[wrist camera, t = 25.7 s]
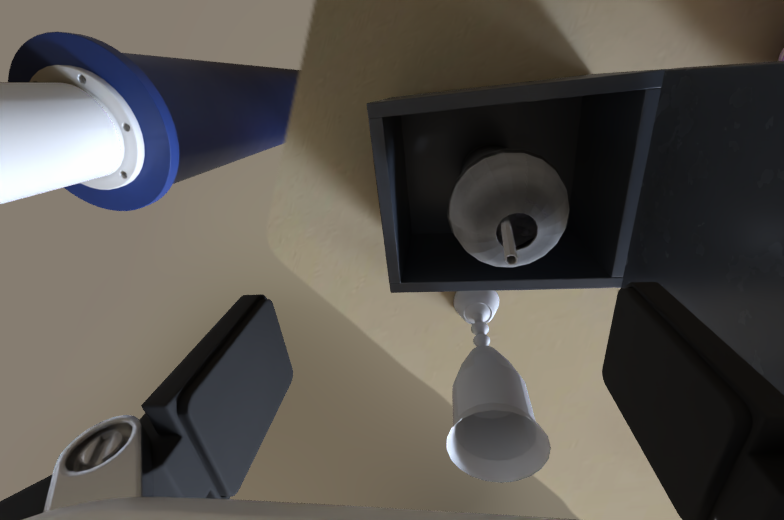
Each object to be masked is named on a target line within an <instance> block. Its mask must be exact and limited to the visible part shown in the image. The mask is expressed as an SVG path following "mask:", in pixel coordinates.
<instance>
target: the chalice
mask: <svg viewBox="0 0 784 520" xmlns="http://www.w3.org/2000/svg"><path fill="white" fill-rule="evenodd" d="M498 306H499V297H498V294H497V293H496V292H495V290H489V291H458V292H457V293H456V295H455V297H454V307H455V310H456V311H457V313H458V314H459V315H460V316H461V317H462V318H463V319H464V321H466V322H467V323H469V324H472V327H471V331H472V333H473V334H475V335H476V336H475V337H474V339H473V342H474V344H475V345H476V346H477V347H476V348H474V349H473V350H472V351H471V352H470V353H469V355H468V356H467V358H466V359H465V361H464V362H463V363H462V365H461V367H460V370H459V372H458V374H457V377H456V379H455V381H454V384H453V427H452V429H451V431H450V433H449V435H448V437H447V451H448V453H449V456H450V458H451V460H452V461H453V462H454V463H455V464H456V465H457V467H458V468H459V469H461V470H463V471H464V472H466V473H467V474H469V475H471V476H473V477H476V478H479V479H482V480H485V481H492V482H501V483H502V482H512V481H518V480H521V479H524V478H527V477H530V476H532V475H533V474H535V473H536V472H537V471H539V470H540V469H542V467H543V466H544V464H545V463H546V462H547V460H548V459H549V454H550V449H551V447H550V443H549V439H548V436H547V435H546V433H545V432H544V431H543V429H542V428H541V427H540V425H539V424H538V423H537V422H536V421H535V417H534V414H533V410H532V406H531V402H530V399H529V395H528V391H527V388H526V384H525V382H524V380H523V379H522V377H521V376H520V375H519V373H518V372H517V371H516V370H515V368H514V367H513V366H512V364H511V363H510V362H509V361H508V360H507V359H506V358H505V357H504V356H502V355H501V354H500V353H499V352H498V351H497V350H495V349H494V348H492V347H490V346H488V345H489V343H490V338H489V337H488V336H487V335H485V334H487V333H488V331H489V327H488V325H487V324H486V323H487V322H489V321H490V320H491V319H492V318H493V316H494V314H495V312H496V310H497V308H498Z"/></svg>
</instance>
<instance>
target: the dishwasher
mask: <svg viewBox="0 0 784 520" xmlns="http://www.w3.org/2000/svg"><path fill="white" fill-rule="evenodd" d="M665 70H666V69H660V70H645V71H631V72H616V73H602V74H589V75H581V76H572V77H564V78H555V79H546V80H538V81H529V82H520V83H512V84H503V85H495V86H486V87H477V88H469V89H460V90H451V91H443V92H434V93H425V94H417V95H408V96H400V97H391V98H387V99H383V100H379V101H375V102H370V103H367V110H368V118H369V126H370V134H371V142H372V150H373V158H374V166H375V174H376V181H377V189H378V197H379V205H380V213H381V221H382V229H383V237H384V245H385V253H386V260H387V268H388V276H389V283H390V291H391V293H397V292H443V291H489V290H536V289H582V288H621V285H622V280H623V275H624V270H625V265H626V260H627V255H628V250H629V245H630V240H631V235H632V230H633V225H634V220H635V216H636V211H637V206H638V201H639V196H640V191H641V186H642V181H643V176H644V171H645V166H646V161H647V156H648V151H649V146H650V141H651V136H652V131H653V126H654V121H655V116H656V111H657V106H658V101H659V96H660V91H661V86H662V81H663V76H664V72H665ZM484 144H494V145H499V146H502V147H505V148H507V149H523V150H526V151H529V152H532V153H535V154H538V155H541V156H542V157H544V158H545V159H546V160H547V161H549V162H550V163H551V164H552V165H554V166H555V167H556V168H557V170H558V172H559V174H560V176H561V177H562V179H563V181H564V183H565V188H566V190H567V195H568V202H569V209H570V210H569V215H568V219H567V224H566V228H565V231H564V232H563V234H562V236H561V237H560V239H559V241H558V243H557V244H556V245H555V246H554V247H553V248H552V249H551V250H550V251H549V252H548V253H547V254H545V255H544V256H543V257H541V258H539V259H537V260H535V261H533V262H531V263H529V264H525V265H521V266H517V267H496V266H493V265H490V264H487V263H484V262H481V261H479V260H478V259H476V258H475V257H473V256H472V255H471V254H469V253H468V252H467V251H466V250H465V249H464V248H463V246H462V245H461V244H460V242H459V241H458V239H457V238H456V237H455V235H454V234H453V232H452V230H451V227H450V224H449V220H448V217H447V210H448V198H449V195H450V192H451V190H452V187H453V185H454V182H455V181H456V179H457V178H458V177H459V174H460V170H461V167H462V164H463V162H464V160H465V157H466V156H467V155H468V154H469V152H470V151H472V150H473V149H475V148H476V147H478V146H481V145H484Z"/></svg>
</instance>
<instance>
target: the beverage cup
mask: <svg viewBox="0 0 784 520" xmlns="http://www.w3.org/2000/svg"><path fill="white" fill-rule="evenodd" d="M569 210H570V209H569V202H568V195H567V190H566V188H565V183H564V181H563V179H562V177H561V176H560V174H559V172H558V170H557V168H556V167H555V166H554V165H552V164H551V163H550V162H549V161H547V160H546V159H545V158H544V157H542V156H541V155H538V154H535V153H532V152H529V151H526V150H523V149H507V148H505V147H502V146H499V145H494V144H484V145H481V146H478V147H476V148H475V149H473V150H472V151H470V152H469V154H468V155H467V156H466V157H465V160H464V162H463V164H462V167H461V170H460V174H459V177H458V178H457V179H456V181H455V182H454V185H453V187H452V190H451V192H450V195H449V198H448V210H447V217H448V220H449V224H450V227H451V230H452V232H453V234H454V235H455V237H456V238H457V239H458V241H459V242H460V244H461V245H462V246H463V248H464V249H465V250H466V251H467V252H468V253H469V254H471V255H472V256H473V257H475V258H476V259H478V260H479V261H481V262H484V263H487V264H490V265H493V266H496V267H517V266H521V265H525V264H529V263H531V262H533V261H535V260H537V259H539V258H541V257H543V256H544V255H545V254H547V253H548V252H549V251H550V250H551V249H552V248H553V247H554V246H555V245H556V244H557V243H558V241H559V239H560V237H561V236H562V234H563V232H564V231H565V228H566V224H567V219H568V215H569Z"/></svg>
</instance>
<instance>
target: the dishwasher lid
mask: <svg viewBox="0 0 784 520" xmlns="http://www.w3.org/2000/svg"><path fill="white" fill-rule="evenodd" d="M630 282H657V283H659V284H660V285H661V286H663V287H664V288H665V289H666V290H667V291H668V292H669V293H670V294H671V295H673V296H674V297H675V298H676V299H677V300H678V301H679V302H680V303H682V304H683V305H684V306H685V307H686V308H687V309H688V310H689V311H690V312H692V313H693V314H694V315H695V316H696V317H697V318H698V319H699V320H701V321H702V322H703V323H704V324H705V325H706V326H707V327H708V328H709V329H711V330H712V331H713V332H714V333H715V334H716V335H717V336H718V337H719V338H721V339H722V340H723V341H724V342H725V343H726V344H727V345H728V346H730V347H731V348H732V349H733V350H734V351H735V352H736V353H737V354H738V355H740V356H741V357H742V358H743V359H744V360H745V361H746V362H747V363H749V364H750V365H751V366H752V367H753V368H754V369H755V370H756V371H757V372H759V373H760V374H761V375H762V376H763V377H764V378H765V379H766V380H767V381H769V382H770V383H771V384H772V385H773V386H774V387H775V388H776V389H778V390H779V391H780V392H781V393H782V394H783V395H784V61H773V62H758V63H743V64H728V65H714V66H699V67H684V68H674V69H666V70H665V72H664V76H663V81H662V86H661V91H660V96H659V101H658V106H657V111H656V116H655V121H654V126H653V131H652V136H651V141H650V146H649V151H648V156H647V161H646V166H645V171H644V176H643V181H642V186H641V191H640V196H639V201H638V206H637V211H636V216H635V220H634V225H633V230H632V235H631V240H630V245H629V250H628V255H627V260H626V265H625V270H624V275H623V280H622V285H621V289H622V288H625V287H626V285H627V284H628V283H630Z"/></svg>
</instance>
